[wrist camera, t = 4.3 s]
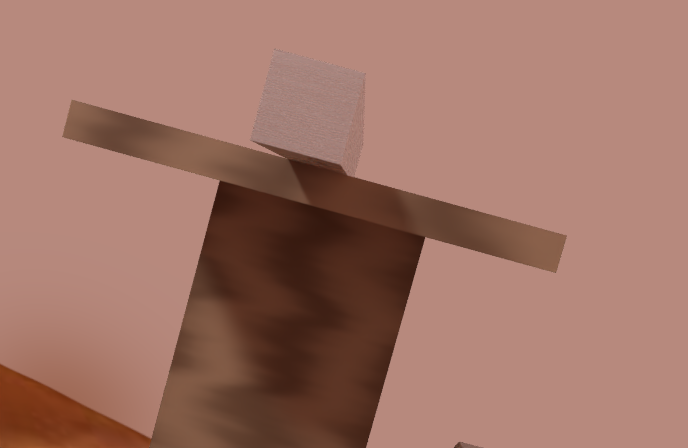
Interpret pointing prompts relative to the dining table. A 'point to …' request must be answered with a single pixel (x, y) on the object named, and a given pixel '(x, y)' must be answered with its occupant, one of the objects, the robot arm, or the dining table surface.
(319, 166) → the bar
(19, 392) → the dining table surface
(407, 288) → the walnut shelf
